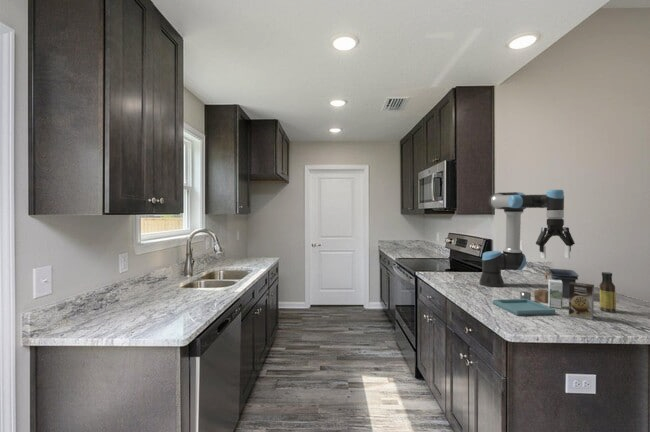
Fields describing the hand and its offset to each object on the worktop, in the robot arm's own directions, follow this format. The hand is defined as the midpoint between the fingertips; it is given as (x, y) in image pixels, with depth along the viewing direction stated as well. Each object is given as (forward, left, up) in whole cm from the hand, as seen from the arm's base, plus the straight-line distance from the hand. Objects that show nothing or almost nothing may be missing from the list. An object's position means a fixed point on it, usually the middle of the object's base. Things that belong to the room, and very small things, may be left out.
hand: (555, 258), depth 171 cm
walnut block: (-11, +2, -27) cm, 29 cm away
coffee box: (+16, 0, -27) cm, 31 cm away
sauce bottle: (+9, +21, -27) cm, 35 cm away
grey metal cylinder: (-12, -8, -27) cm, 30 cm away
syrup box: (0, 0, -27) cm, 27 cm away
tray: (+2, -20, -26) cm, 33 cm away
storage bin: (-23, +23, -27) cm, 42 cm away
